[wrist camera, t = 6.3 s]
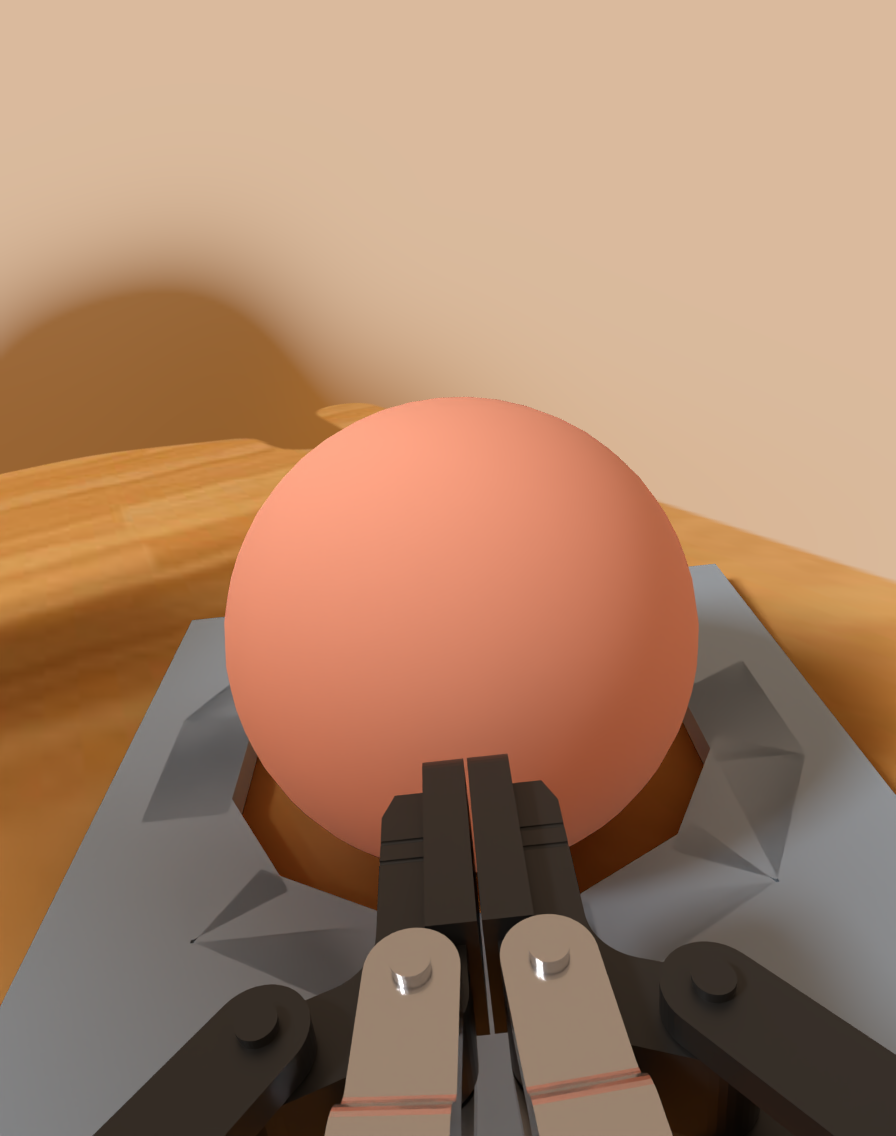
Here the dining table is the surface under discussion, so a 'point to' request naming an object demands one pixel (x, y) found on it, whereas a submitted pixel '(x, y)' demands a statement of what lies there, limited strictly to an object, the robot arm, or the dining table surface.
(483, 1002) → the robot arm
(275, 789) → the dining table surface
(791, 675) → the hole board
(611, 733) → the ball
